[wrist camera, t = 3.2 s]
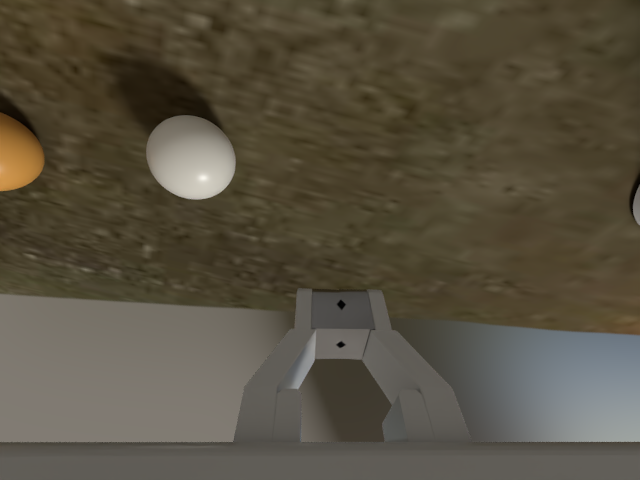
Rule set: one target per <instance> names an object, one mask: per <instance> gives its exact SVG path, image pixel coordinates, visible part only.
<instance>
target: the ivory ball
mask: <svg viewBox="0 0 640 480" xmlns="http://www.w3.org/2000/svg"><path fill="white" fill-rule="evenodd" d="M146 155H147V162H148V165H149V168H150V170H151V172H152V174H153V176H154V177H155V178H156V180H157V181H158V182H159V183H160V184H161V185H162V186H163V187H164V188H165V189H167V190H168V191H170V192H171V193H173V194H175V195H177V196H180V197H183V198H187V199H206V198H210V197H212V196H215V195H217V194H218V193H220V192H221V191H223V190H224V189H225V188H226V187H227V186H228V184H229V183H230V181H231V180H232V177H233V175H234V172H235V165H236V160H235V154H234V150H233V147H232V145H231V142H230V141H229V139H228V138H227V136H226V135H225V134H224V133H223V131H222V130H221V129H219V128H218V127H217V126H216V125H214V124H213V123H211V122H210V121H208V120H206V119H203V118H201V117H197V116H191V115H180V116H174V117H171V118H169V119H166V120H165V121H163V122H161V123H160V124H159V125H158V126H157V127H156V128H155V129H154V130H153V132H152V133H151V135H150V137H149V140H148V143H147V148H146Z"/></svg>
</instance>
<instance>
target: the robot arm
mask: <svg viewBox="0 0 640 480" xmlns="http://www.w3.org/2000/svg"><path fill="white" fill-rule="evenodd" d="M633 214H634V217H635V220H636V221H637V223H638V224H639V225H640V185H639V188H638V190H637V192H636V195H635V198H634V203H633ZM338 358H340V359H363V360H362V361H363V362H364V364H365V365H366V367H367V368H368V370H369V371H370V372H371V374H372V376H373V377H374V379H375V380H376V382H377V383H378V385H379V386H380V387H381V389H382V390H383V392H384V393H385V395H386V396H387V398H388V399H389V401H390V402H391V404H392V407H391V409H390V411H389V413H388V414H387V416H386V418H385V420H384V422H383V424H382V426H383V432H384V439H385V442H301V393H300V392H299V391H298V388H299V387H300V385H301V383H302V381H303V380H304V378H305V376H306V375H307V373H308V371H309V369H310V368H311V366H312V364H313V362H314V361H315V359H338ZM0 480H640V442H472V440H471V437H470V435H469V432H468V429H467V427H466V424H465V422H464V418H463V416H462V413H461V410H460V408H459V405H458V402H457V400H456V397H455V394H454V392H453V389H452V388H451V387H450V386H449V385H448V384H447V383H446V382H445V380H444V379H443V378H441V376H440V375H439V374H438V373H437V372H436V371H435V370H434V369H433V368H432V367H431V366H430V365H429V364H428V363H427V362H426V361H425V360H424V359H423V358H422V357H421V356H420V355H419V354H418V353H417V351H416V350H415V349H414V348H413V347H412V346H411V345H410V344H409V343H408V342H407V341H406V340H405V339H404V338H403V337H402V336H401V335H400V334H399V333H398V332H397V331H396V330H392V328H391V325H390V321H389V316H388V312H387V308H386V304H385V300H384V296H383V293H382V291H381V290H355V289H339V290H331V289H304V288H298V290H297V300H296V314H295V328H294V329H290V330H289V331H288V332H287V334H286V335H285V336H284V337H283V339H282V340H281V341H280V342H279V344H278V345H277V346H276V348H275V349H274V350H273V351H272V353H271V354H270V355H269V356H268V358H267V359H266V360H265V362H264V363H263V364H262V365H261V367H260V368H259V369H258V370H257V372H256V373H255V374H254V375H253V377H252V378H251V379H250V380H249V382H248V383H247V385H246V386H245V387H244V392H243V397H242V402H241V407H240V412H239V417H238V422H237V426H236V431H235V436H234V441H233V442H22V443H21V442H0Z"/></svg>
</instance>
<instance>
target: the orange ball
mask: <svg viewBox="0 0 640 480" xmlns="http://www.w3.org/2000/svg"><path fill="white" fill-rule="evenodd" d="M44 158H45V157H44V152H43V148H42V146H41V144H40V142H39V141H38V139H37V138H36V136H35V135H34V134H33V133H32V132H31V131H30V130H29V129H28V128H27V127H26V126H24V125H23V124H22V123H20V122H19V121H17V120H15V119H14V118H12V117H10V116H8V115H6V114H3V113H1V112H0V191H7V190H13V189H16V188H20V187H23V186H25V185H27V184H29V183H30V182H32V181H33V180H34V179H36V178H37V177H38V176H39V174H40V173H41V171H42V169H43V166H44Z"/></svg>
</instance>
